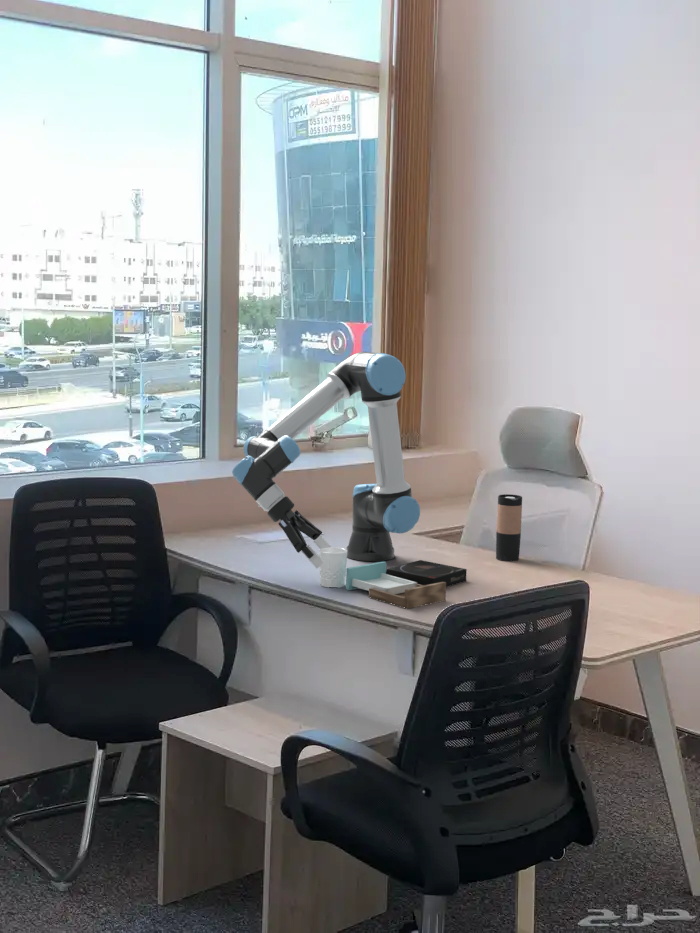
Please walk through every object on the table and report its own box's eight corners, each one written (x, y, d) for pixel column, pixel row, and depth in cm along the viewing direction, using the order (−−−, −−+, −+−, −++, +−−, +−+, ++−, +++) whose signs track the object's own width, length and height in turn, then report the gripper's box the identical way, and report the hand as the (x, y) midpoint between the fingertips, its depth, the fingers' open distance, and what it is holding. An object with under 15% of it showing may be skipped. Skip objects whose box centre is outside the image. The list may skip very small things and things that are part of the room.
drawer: (406, 589, 324) (407, 572, 324) (445, 600, 314) (446, 582, 313) (368, 597, 315) (369, 579, 314) (407, 608, 304) (408, 590, 303)
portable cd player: (418, 572, 347) (418, 559, 347) (466, 582, 336) (466, 569, 336) (384, 582, 334) (384, 568, 334) (433, 592, 324) (433, 578, 323)
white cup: (314, 582, 330) (315, 548, 328) (340, 581, 333) (341, 546, 331) (323, 589, 323) (324, 554, 321) (350, 587, 325) (351, 552, 324)
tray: (382, 582, 331) (383, 561, 330) (419, 592, 320) (420, 571, 319) (346, 589, 322) (346, 568, 321) (382, 600, 311) (383, 578, 310)
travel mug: (501, 555, 372) (503, 493, 369) (523, 558, 368) (526, 496, 366) (491, 559, 366) (493, 496, 363) (513, 562, 362) (516, 499, 359)
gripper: (278, 505, 340) (327, 559, 339) (253, 520, 316) (305, 578, 315) (296, 488, 338) (345, 543, 337) (272, 502, 314) (325, 561, 313)
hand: (326, 560), depth 326 cm, fingers open, 13 cm apart
